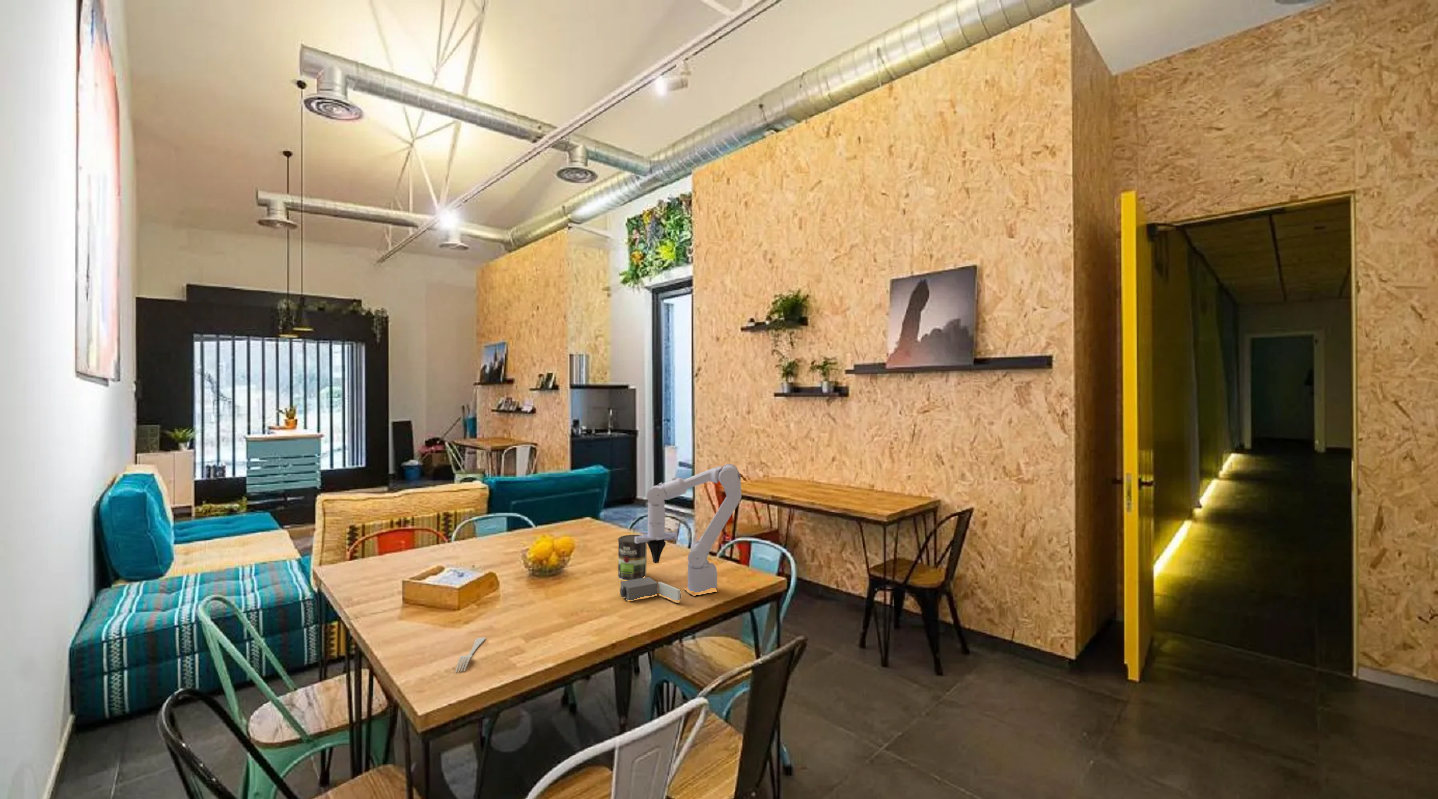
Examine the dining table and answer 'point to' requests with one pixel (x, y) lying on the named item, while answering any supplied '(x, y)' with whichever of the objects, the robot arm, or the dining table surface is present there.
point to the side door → (669, 591)
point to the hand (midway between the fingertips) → (655, 562)
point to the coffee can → (631, 558)
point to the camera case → (638, 588)
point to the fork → (475, 646)
